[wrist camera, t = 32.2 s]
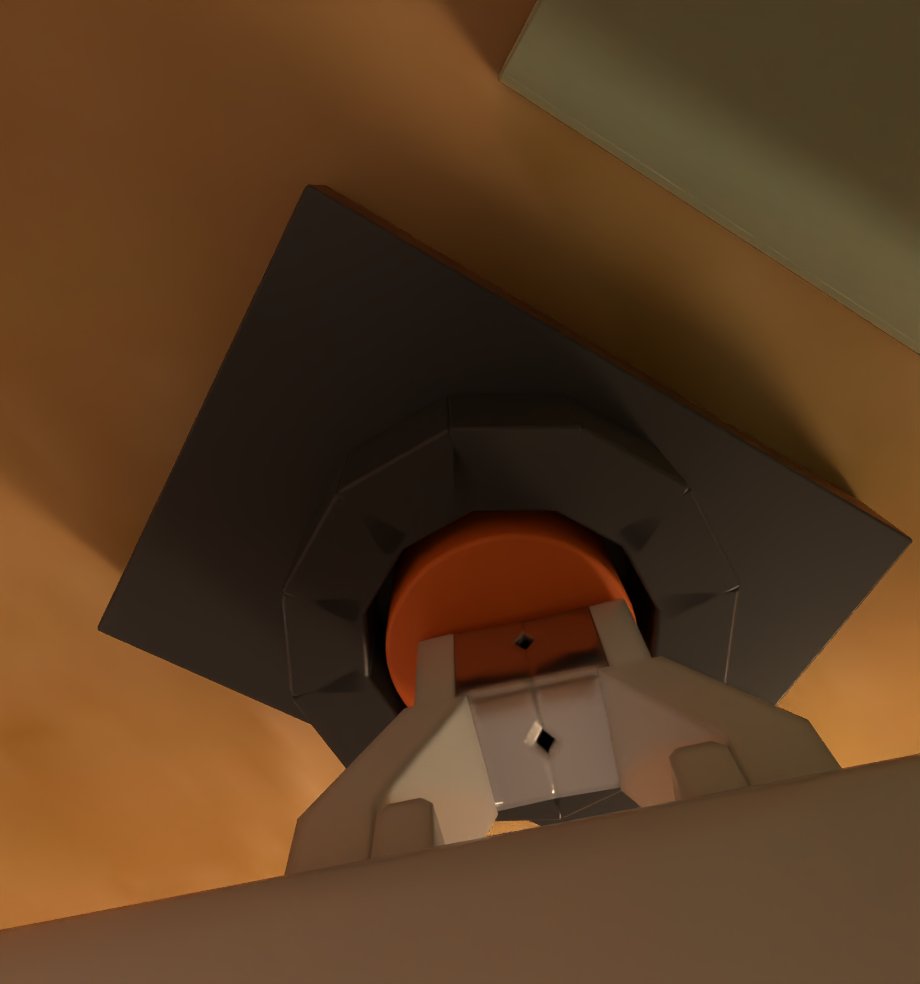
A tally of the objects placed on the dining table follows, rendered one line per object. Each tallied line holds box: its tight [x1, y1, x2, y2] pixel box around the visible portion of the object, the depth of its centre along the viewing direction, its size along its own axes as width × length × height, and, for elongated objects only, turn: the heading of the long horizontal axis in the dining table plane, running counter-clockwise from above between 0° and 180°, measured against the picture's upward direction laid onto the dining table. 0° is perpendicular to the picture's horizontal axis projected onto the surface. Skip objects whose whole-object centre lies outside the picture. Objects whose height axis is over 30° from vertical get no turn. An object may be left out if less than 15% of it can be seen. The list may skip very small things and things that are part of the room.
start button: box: [386, 510, 636, 707], centre depth 12 cm, size 4×4×2 cm
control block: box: [98, 184, 912, 826], centre depth 13 cm, size 11×8×4 cm
